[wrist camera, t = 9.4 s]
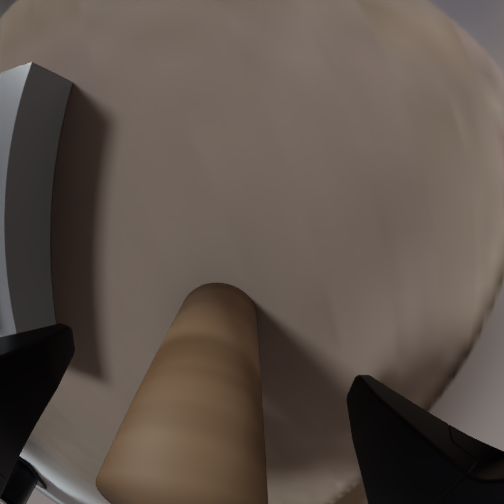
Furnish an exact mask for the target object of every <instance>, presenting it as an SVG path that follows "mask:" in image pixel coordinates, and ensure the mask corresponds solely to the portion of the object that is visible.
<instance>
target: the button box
mask: <svg viewBox="0 0 504 504" xmlns="http://www.w3.org/2000/svg"><path fill="white" fill-rule="evenodd" d="M72 83H73V82H71V81H69V80H68V79H66V78H64V77H62V76H60V75H58V74H56V73H54V72H51V71H49V70H47V69H45V68H43V67H41V66H39V65H37V64H35V63H33V62H31V63H28V64H25V65H22V66H19V67H16V68H13V69H10V70H7V71H5V72H2V73H0V337H3V336H7V335H12V334H16V333H21V332H25V331H29V330H34V329H38V328H42V327H46V326H50V325H55V324H56V319H55V311H54V302H53V292H52V279H51V258H50V224H51V202H52V190H53V179H54V171H55V163H56V156H57V149H58V143H59V138H60V133H61V127H62V123H63V118H64V114H65V109H66V105H67V101H68V97H69V94H70V90H71V87H72Z"/></svg>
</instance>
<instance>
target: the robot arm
mask: <svg viewBox="0 0 504 504" xmlns="http://www.w3.org/2000/svg"><path fill="white" fill-rule="evenodd" d="M74 352H75V346H74V340H73V333H72V329H71V327H70V326H67V325H64V324H61V323H59V324H55V325H50V326H46V327H42V328H38V329H34V330H29V331H25V332H21V333H16V334H12V335H7V336H3V337H0V501H1V502H3V503H4V504H26V503H27V501H28V499H29V497H30V495H31V493H32V491H33V489H34V488H35V486H36V485H38V486H40V487H41V488H43V489H45V490H46V489H47V487H46V486H45V484H44V483H43V482H42V480H41V479H40V478H39V477H38V475H37V474H36V473H35V471H34V470H33V468H32V467H31V466H30V465H29V464H28V463H27V462H26V461H24V460H22V459H21V458H19V455H20V453H21V451H22V449H23V447H24V445H25V443H26V442H27V440H28V438H29V436H30V434H31V432H32V431H33V429H34V427H35V425H36V423H37V422H38V420H39V418H40V416H41V415H42V413H43V411H44V410H45V408H46V406H47V404H48V403H49V401H50V400H51V398H52V396H53V395H54V393H55V391H56V389H57V388H58V386H59V384H60V382H61V380H62V377H63V375H64V373H65V371H66V369H67V367H68V365H69V363H70V361H71V359H72V357H73V355H74ZM347 406H348V413H349V420H350V427H351V434H352V439H353V444H354V448H355V451H356V455H357V459H358V463H359V467H360V471H361V475H362V479H363V483H364V487H365V492H366V496H367V500H368V504H504V451H501V450H499V449H497V448H494V447H492V446H490V445H488V444H485V443H483V442H481V441H479V440H477V439H475V438H473V437H471V436H468V435H467V434H465V433H463V432H461V431H459V430H458V429H456V428H454V427H452V426H451V425H448V424H447V423H446V422H444V421H442V420H440V419H439V418H437V417H435V416H434V415H432V414H430V413H429V412H427V411H425V410H424V409H422V408H421V407H419V406H417V405H416V404H414V403H412V402H411V401H409V400H408V399H406V398H404V397H403V396H401V395H400V394H398V393H396V392H395V391H393V390H392V389H390V388H388V387H387V386H385V385H384V384H382V383H381V382H379V381H378V380H376V379H374V378H373V377H371V376H370V375H358V376H356V377H355V379H354V381H353V384H352V386H351V388H350V390H349V392H348V395H347Z"/></svg>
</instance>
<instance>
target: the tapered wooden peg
mask: <svg viewBox="0 0 504 504" xmlns="http://www.w3.org/2000/svg"><path fill="white" fill-rule="evenodd" d="M96 486H97V489H98V490H99V492H100V493H101V494H102V496H103V497H104V498H105V499H106V500H107V501H109V502H110V503H111V504H268V493H267V475H266V458H265V441H264V424H263V407H262V390H261V373H260V356H259V340H258V323H257V313H256V309H255V306H254V304H253V302H252V301H251V299H250V298H249V297H248V296H247V295H246V294H245V293H244V292H243V291H241V290H240V289H238V288H236V287H234V286H232V285H229V284H224V283H209V284H205V285H202V286H200V287H198V288H196V289H194V290H193V291H192V292H191V293H190V294H189V295H188V296H187V298H186V299H185V301H184V303H183V304H182V306H181V308H180V310H179V312H178V314H177V315H176V317H175V319H174V321H173V323H172V325H171V327H170V329H169V330H168V332H167V334H166V336H165V338H164V340H163V342H162V344H161V346H160V348H159V350H158V351H157V353H156V355H155V357H154V359H153V361H152V363H151V365H150V367H149V369H148V371H147V373H146V375H145V377H144V379H143V381H142V383H141V385H140V387H139V389H138V391H137V393H136V395H135V397H134V399H133V401H132V403H131V405H130V407H129V409H128V411H127V413H126V415H125V417H124V420H123V422H122V424H121V426H120V428H119V430H118V432H117V434H116V436H115V439H114V441H113V443H112V445H111V447H110V449H109V452H108V454H107V456H106V458H105V460H104V463H103V465H102V467H101V469H100V472H99V474H98V476H97V478H96Z"/></svg>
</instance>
